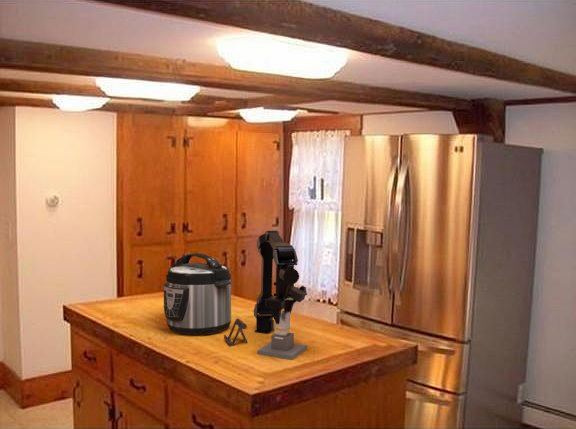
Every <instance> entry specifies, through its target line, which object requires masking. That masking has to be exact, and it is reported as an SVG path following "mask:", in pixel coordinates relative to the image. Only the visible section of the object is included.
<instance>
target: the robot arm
mask: <svg viewBox="0 0 576 429" xmlns="http://www.w3.org/2000/svg"><path fill="white" fill-rule="evenodd" d="M256 248H257V252H258V254H259V256H260V257H261V273H260V274H261V275H260V276H261V277H260V293H259V295H258V297H257V298H256V303H255V304H254V309H253V317H254V318H255V320H256V321H255V322H256V324H255V327H256V329H255V330H254V332H255V333H262V334H270V333H272V332H274V331H275V325H276V324H279V323H280V316H281V310H282V311H290V315H291V314H292V310H293V308H294V305H295V303H297V302H298V303H301V302H302V301H305V298H306V296H307V295H308V292H307V287H306V286H305V285H302V286H300V287H299V286H295V285H296V283H298V281H299V279H300V274H299V271H298V270H297V269H295V266H297V265H298V263H299V262H298V261H299V259H298V255H297V252H296V250H295V248H294V246H293V245H292V244H290V243H288V242H287V243H286V242H285V240H284V239H283V238H282V237H281V234H280V232H279V230H266V231H265V232H264V233H262V234H261V235H260V236H258V238H257V240H256ZM273 261H274V262H273ZM273 263H274V264H275V282H273V268H274V267H273ZM273 286H275V292H274V293H273Z"/></svg>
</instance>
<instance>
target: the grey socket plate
mask: <svg viewBox="0 0 576 429" xmlns="http://www.w3.org/2000/svg"><path fill="white" fill-rule="evenodd" d="M270 337H271V338H270V342H269V343H266V344H265V345H263V346H262V347H260V348H259V349H257V350H256V354H257V355H261V356H266V357H273V358H279V359H286V360H291V361H293V360H294V359H296V358H297V357H298V356H299V355H301V354H302V353H304V352H305V351H306V350H307V349H308V345H307V344H303V343H302V344H300V343H295V341H294V340H295V333H293V332H290V335H288V336H287V337H283V336H276V332H274V333H273V334H272V335H271V336H270Z"/></svg>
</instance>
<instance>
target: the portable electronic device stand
mask: <svg viewBox="0 0 576 429" xmlns="http://www.w3.org/2000/svg"><path fill="white" fill-rule="evenodd" d="M236 327H238V329H237V331H236V333H235V336H234V338H233V340H231V337H232V335H233V333H234V330H235V328H236ZM247 328H248V326H247V324H246V323H245V322H244V321H243V320H241V319H240V318H236V319H235V321H234V323H233V325H232V328H231V329H230V332H229V334H228V335H227V336H226V334H224V335H223V339H224V341H225V342H226V343H227V344H228V345H229V346H231V347H233V346H235V344H236V341H237V339H238V336H239V335H241V336H242V339H243V341H245V344H246V343H248V340H247V338H246V335H245V333H244V331H243V330H246V329H247Z"/></svg>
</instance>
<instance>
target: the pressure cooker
mask: <svg viewBox="0 0 576 429" xmlns="http://www.w3.org/2000/svg"><path fill="white" fill-rule="evenodd" d="M192 257H197V258H200V259H203V260H205V261H206V263H202V262H190V261H191V259H192ZM165 278H166V280H165V283H163V312H164V316H165V318H166V325H167V327H168V329H169V330H170V331H171V332H174V333H177V334H183V335H197V336H198V335H199V336H202V335H209V334H215V333H218V332H221V331H224V330H227V329H228V328H229V327H230V325H231V323H232V274H231V273H230V268H229V267H228V266H226V265H222V263H221V262H220V261H219V260H217V259H215V258H214V257H212V256H210V255H208V254H204V253H196V252H195V253H189V254H188V253H187V254H186V255H185V254H184V255H183V256H181V257H179V258H177V259H176V261H175V262H174V263H172V264H171V267H170V268H168V269H167V274H166V276H165Z"/></svg>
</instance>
